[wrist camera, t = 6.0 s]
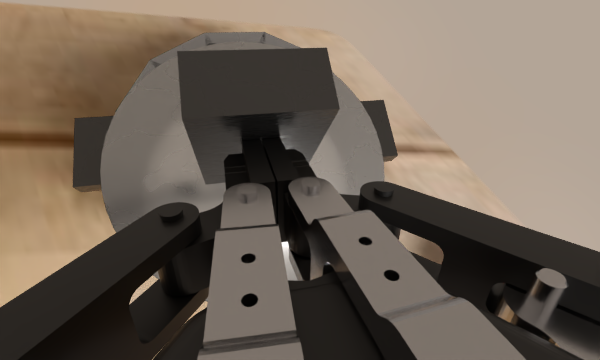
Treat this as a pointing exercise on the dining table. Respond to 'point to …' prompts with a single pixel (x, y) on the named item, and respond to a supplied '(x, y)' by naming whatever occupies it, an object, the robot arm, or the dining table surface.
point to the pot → (95, 128)
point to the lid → (232, 127)
